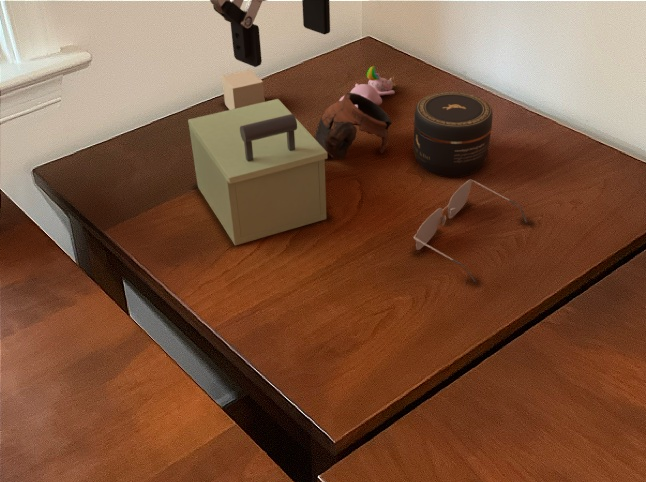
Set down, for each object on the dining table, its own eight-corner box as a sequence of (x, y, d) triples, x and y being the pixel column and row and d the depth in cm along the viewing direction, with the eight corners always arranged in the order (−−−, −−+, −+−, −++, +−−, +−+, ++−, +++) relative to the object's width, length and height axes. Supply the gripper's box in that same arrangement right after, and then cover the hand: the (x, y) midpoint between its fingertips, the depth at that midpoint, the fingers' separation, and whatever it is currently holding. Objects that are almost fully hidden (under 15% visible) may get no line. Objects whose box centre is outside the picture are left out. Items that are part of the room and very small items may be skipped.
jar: (398, 150, 110) (400, 99, 105) (462, 134, 113) (467, 83, 109) (435, 187, 103) (439, 134, 98) (502, 169, 106) (509, 116, 101)
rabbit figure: (366, 91, 127) (324, 119, 114) (369, 52, 124) (326, 78, 112) (404, 98, 125) (366, 128, 112) (407, 59, 122) (369, 86, 110)
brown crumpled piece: (318, 131, 115) (346, 81, 112) (374, 167, 115) (405, 119, 112) (292, 154, 105) (323, 100, 101) (354, 194, 105) (387, 142, 101)
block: (235, 117, 117) (232, 88, 115) (224, 104, 121) (221, 75, 118) (265, 110, 119) (263, 81, 116) (254, 97, 122) (251, 69, 119)
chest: (326, 219, 98) (324, 155, 92) (235, 245, 94) (227, 181, 88) (282, 165, 107) (278, 104, 102) (197, 187, 103) (188, 125, 98)
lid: (327, 158, 92) (326, 118, 89) (229, 184, 88) (224, 143, 85) (278, 104, 102) (276, 67, 99) (188, 125, 98) (183, 87, 95)
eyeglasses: (468, 199, 101) (473, 173, 98) (527, 225, 98) (534, 198, 95) (409, 258, 92) (413, 230, 89) (472, 288, 89) (478, 260, 86)
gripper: (308, -166, 78) (314, 10, 88) (164, -130, 67) (191, 64, 78) (369, -154, 74) (368, 28, 84) (226, -115, 63) (246, 87, 74)
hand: (283, 45), depth 81 cm, fingers open, 9 cm apart
